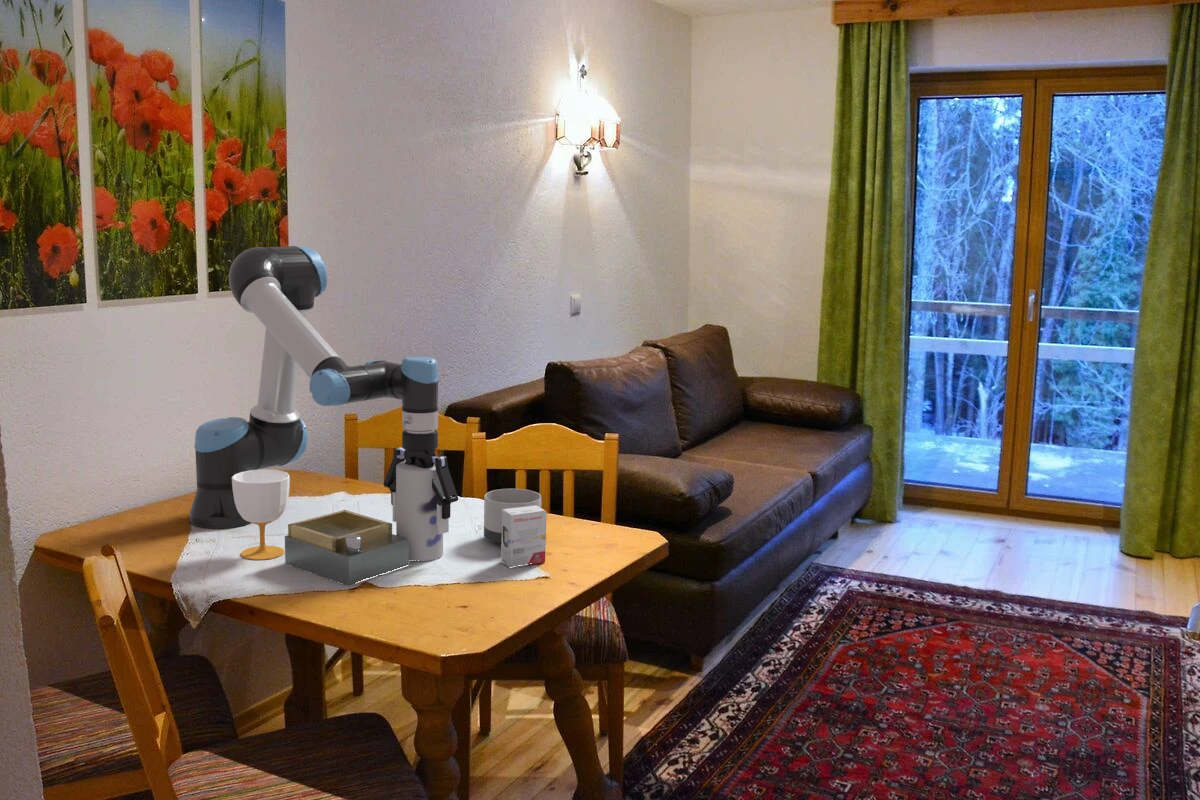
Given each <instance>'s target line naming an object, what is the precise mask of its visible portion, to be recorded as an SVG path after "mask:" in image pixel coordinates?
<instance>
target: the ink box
mask: <svg viewBox="0 0 1200 800" xmlns="http://www.w3.org/2000/svg"><path fill="white" fill-rule="evenodd" d="M546 540H547V511H546V510H545V509H544V508H542V507H541V508H540V507H538V506H537V505H535V506H527V507H518V508H509V509H502V540H501V545H500V547H501V548H500V552H501V554H500V561H501V562H502V564H504V563H505V564H504V565H505V566H507V567H508V566H509V567H513V566H518V565H525V564H530V563H532V565H536V564H541V563H545V562H546V546H547V543H546ZM509 567H508V568H509Z"/></svg>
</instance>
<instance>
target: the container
mask: <svg viewBox="0 0 1200 800" xmlns="http://www.w3.org/2000/svg"><path fill="white" fill-rule="evenodd" d="M405 462H406V460H405V461H404V462H401V463H399V464H397V465H396V522H395V525H396V528H395V530H396V531H395V532H396V533H395V535H397V536H401V537H404V538H407V539H409V560H414V561H413V562H426V561H425V560H428V561H433V560H436V558H437V559H439V558H441V557H442V556H443V555H444V533H443V534H440V535H439V534H437V504H438V503H440V502H439V500H438V498H437V496H436V494H435V492H434V491H433V489H432V479H438V475H437V472H436V468H435V466H433V467H429V468H425V469H424V468H420V467H418V466H416V465H412V464H411V465H408V464H405ZM432 559H433V560H432ZM415 560H416V561H415ZM418 560H419V561H418ZM423 560H424V561H423Z"/></svg>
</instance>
